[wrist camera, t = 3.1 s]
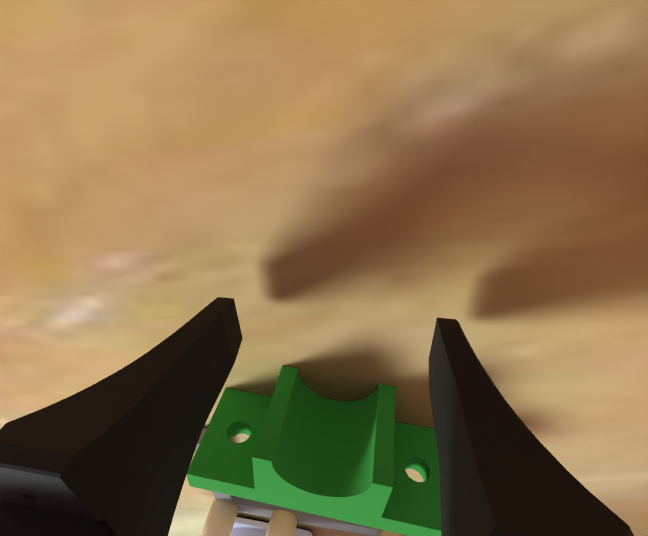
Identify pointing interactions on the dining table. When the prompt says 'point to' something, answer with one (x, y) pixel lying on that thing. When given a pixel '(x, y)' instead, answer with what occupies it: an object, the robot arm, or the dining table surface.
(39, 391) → the dining table surface
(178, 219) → the dining table surface
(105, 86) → the dining table surface
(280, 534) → the peg cradle
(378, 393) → the pipe clamp
